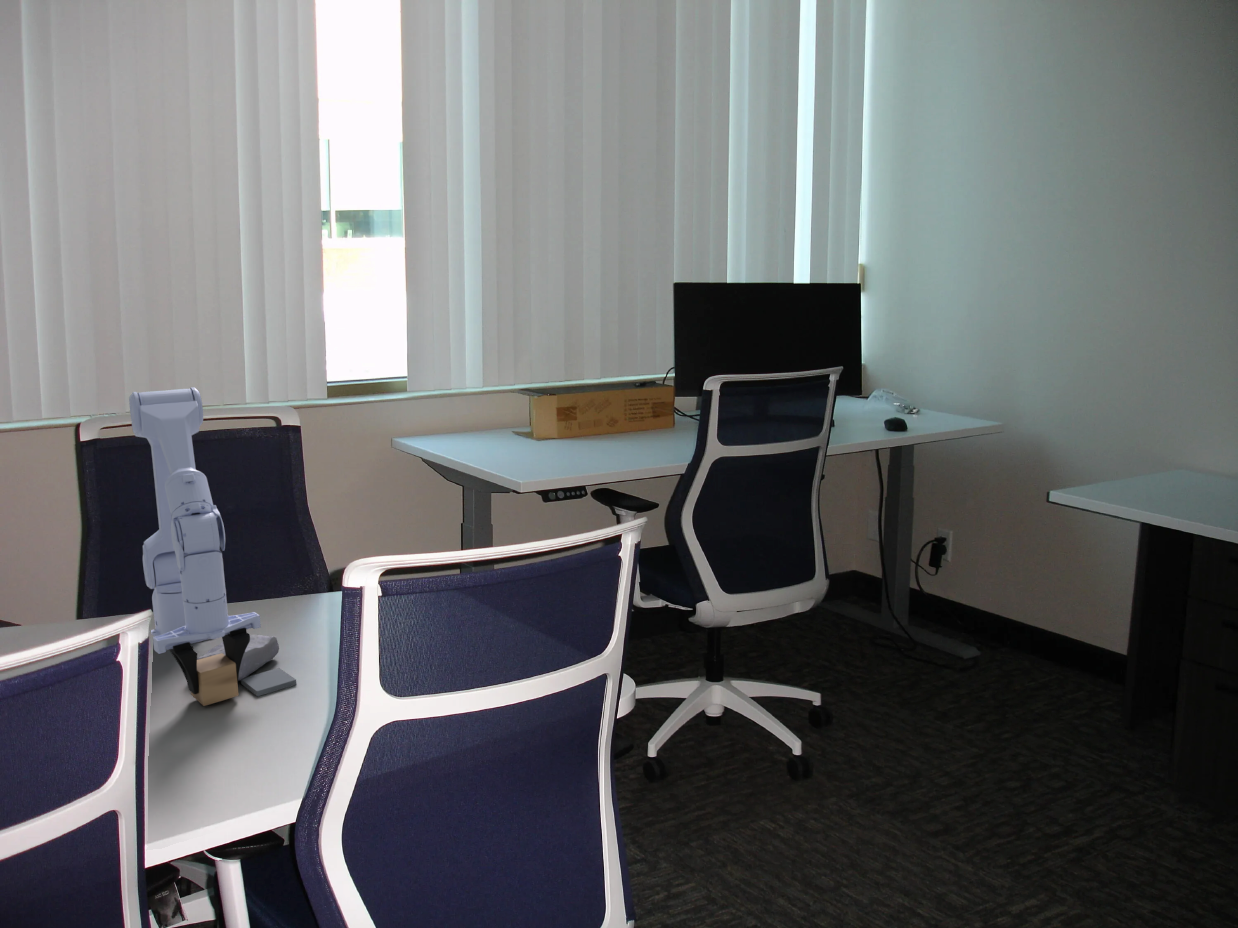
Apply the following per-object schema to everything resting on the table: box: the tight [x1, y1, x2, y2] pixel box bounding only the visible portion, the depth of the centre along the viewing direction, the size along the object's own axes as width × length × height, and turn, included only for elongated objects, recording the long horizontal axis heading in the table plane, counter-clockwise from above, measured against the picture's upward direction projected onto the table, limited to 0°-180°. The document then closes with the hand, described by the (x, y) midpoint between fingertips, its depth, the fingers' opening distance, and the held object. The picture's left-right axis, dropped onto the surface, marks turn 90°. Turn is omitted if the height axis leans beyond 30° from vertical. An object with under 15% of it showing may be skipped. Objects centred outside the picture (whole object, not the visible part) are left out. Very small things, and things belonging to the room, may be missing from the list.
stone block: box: [197, 634, 280, 681], centre depth 162 cm, size 12×5×10 cm
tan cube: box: [190, 653, 240, 707], centre depth 151 cm, size 5×5×5 cm
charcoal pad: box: [240, 667, 297, 697], centre depth 157 cm, size 6×6×1 cm
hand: (213, 685), depth 151 cm, fingers closed on tan cube, 5 cm apart
